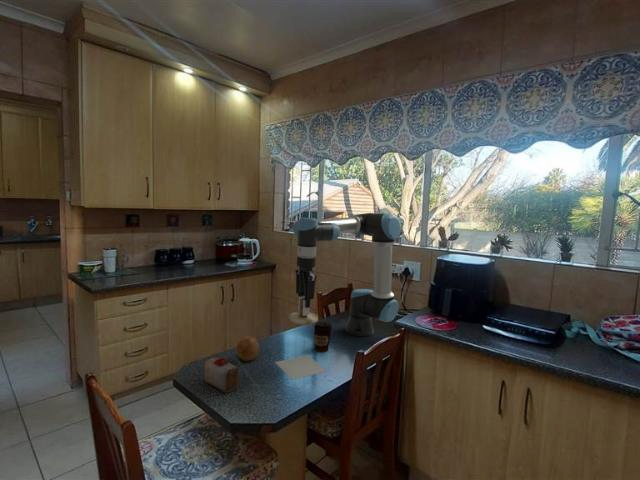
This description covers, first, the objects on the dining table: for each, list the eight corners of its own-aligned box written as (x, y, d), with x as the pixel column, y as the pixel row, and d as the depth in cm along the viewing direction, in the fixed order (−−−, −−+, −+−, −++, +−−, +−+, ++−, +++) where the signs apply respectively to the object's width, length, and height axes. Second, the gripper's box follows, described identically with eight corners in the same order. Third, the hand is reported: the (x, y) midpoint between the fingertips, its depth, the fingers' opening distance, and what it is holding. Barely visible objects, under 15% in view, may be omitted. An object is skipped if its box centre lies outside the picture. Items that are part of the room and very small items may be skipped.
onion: (239, 353, 153) (239, 332, 152) (261, 355, 153) (262, 333, 152) (232, 364, 143) (233, 340, 142) (256, 365, 143) (257, 342, 142)
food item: (200, 382, 128) (200, 356, 127) (218, 374, 134) (218, 349, 133) (224, 395, 120) (225, 368, 119) (242, 386, 127) (243, 360, 126)
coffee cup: (328, 355, 156) (330, 327, 155) (310, 353, 158) (312, 325, 157) (332, 348, 165) (333, 321, 164) (315, 345, 166) (316, 319, 165)
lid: (308, 312, 149) (309, 294, 149) (323, 321, 139) (324, 301, 138) (283, 316, 143) (284, 297, 142) (297, 326, 133) (298, 305, 132)
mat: (307, 356, 154) (308, 355, 154) (327, 372, 141) (327, 371, 141) (274, 363, 146) (274, 362, 146) (291, 381, 132) (291, 379, 132)
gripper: (289, 253, 143) (286, 308, 146) (308, 260, 130) (305, 321, 132) (304, 253, 147) (302, 306, 150) (325, 259, 134) (321, 318, 136)
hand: (303, 313), depth 141 cm, fingers closed on lid, 3 cm apart
